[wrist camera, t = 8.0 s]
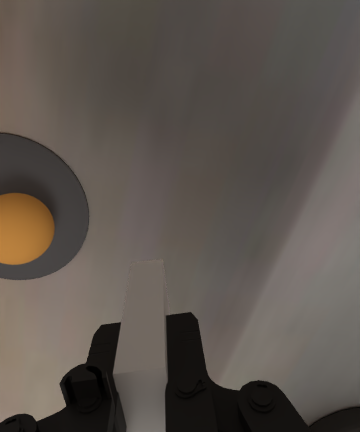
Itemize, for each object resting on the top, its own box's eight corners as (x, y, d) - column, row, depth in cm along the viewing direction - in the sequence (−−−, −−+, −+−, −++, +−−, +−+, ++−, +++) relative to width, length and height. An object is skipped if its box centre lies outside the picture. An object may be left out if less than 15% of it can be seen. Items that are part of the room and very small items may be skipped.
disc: (102, 268, 30) (102, 269, 30) (-41, 287, 30) (-42, 288, 30) (69, 123, 25) (68, 123, 25) (-101, 143, 25) (-103, 144, 25)
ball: (1, 260, 28) (63, 231, 30) (-3, 290, 23) (70, 253, 25) (-36, 204, 26) (32, 175, 27) (-50, 224, 21) (34, 188, 22)
